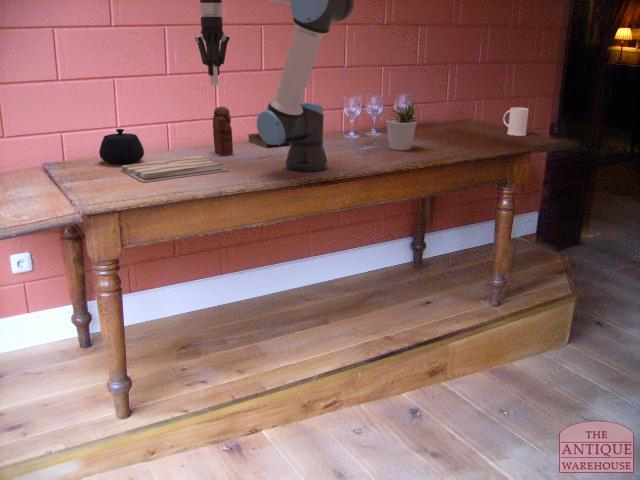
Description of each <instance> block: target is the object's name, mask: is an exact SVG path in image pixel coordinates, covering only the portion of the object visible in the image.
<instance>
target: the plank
mask: <svg viewBox="0 0 640 480" xmlns="http://www.w3.org/2000/svg"><path fill="white" fill-rule="evenodd" d="M222 168H223V163H218V162H215V161H212V160H210V159H209V160H202V161H195V162H187V163H179V164H171V165H164V166H156V167H148V168H140V169H133V174H135V175H138V176H140V177H142V178H144V179H151V178H159V177H166V176H173V175H180V174H187V173H195V172H202V171H209V170H216V169H222Z"/></svg>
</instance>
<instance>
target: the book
mask: <svg viewBox="0 0 640 480" xmlns="http://www.w3.org/2000/svg"><path fill="white" fill-rule="evenodd" d="M247 136H248V142H249V143H252V144H255V145H257V146H260V147H263V148H267V149H272V148H273V147H274V148H282V146H283V147H290V142H287V143H283V144H280V145H278V144H276V145H271V144H268V143H266V142H265V141H264V140H263V139H262V138H261V136H260V135H259V132H258V133H250V134H247ZM274 148H273V149H274Z"/></svg>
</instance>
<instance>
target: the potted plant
mask: <svg viewBox="0 0 640 480" xmlns="http://www.w3.org/2000/svg"><path fill="white" fill-rule="evenodd" d="M415 101H416V100H413V102H409V103H408V104H407V106H406V104H405V103H404V102H403V100H402V101H401V102H402V103H403V104H404V109H405V110H404V109H403V108H402V107H400V106H398V105H396V104H395V105H394V106H395V108H396V109H397V110H399V111H397V110H395V109H392V108H391V109H390V110H391V111H392V112H394V113H395V114H392V113H389V115H391V116H393V117H394V118H393V117H392V118H388V119H387V118H386V120H385V124H386V129H387V130H386V131H387V138H388V139H387V140H388V146H389V149H390V150H394V151H400V152H401V151H402V152H403V151H404V150H405V151H409V150H410V149H412V147H413V141H414V135H415V132H416V131H415V130H416V128H417V123H418V121H419V120H420V118H417V116H418V115H416V116H415V117H414V115H415V114H416V113H417V112H418V110H417V109H418V108H417V107H416V106H417V105H418V104H417V103H415ZM416 118H417V119H416ZM405 151H404V152H405Z"/></svg>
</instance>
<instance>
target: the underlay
mask: <svg viewBox="0 0 640 480" xmlns="http://www.w3.org/2000/svg"><path fill="white" fill-rule="evenodd" d="M120 172H122V173H123V174H125V175H127V176H130V177H131V178H133V179H135V180H136V181H139V182H140V183H142V184H145V183H154V182H161V181H167V180H173V179H182V178H189V177H195V176H204V175H210V174H216V173H223V172H229V169H228V168H225V167H222V169H216V170H209V171H202V172H195V173H187V174H180V175H173V176H166V177H159V178H151V179H144V178H142V177H140V176H138V175H135V174H133V173H131V174H129V173H127V172H125V171H123V170H122V169H120Z"/></svg>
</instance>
